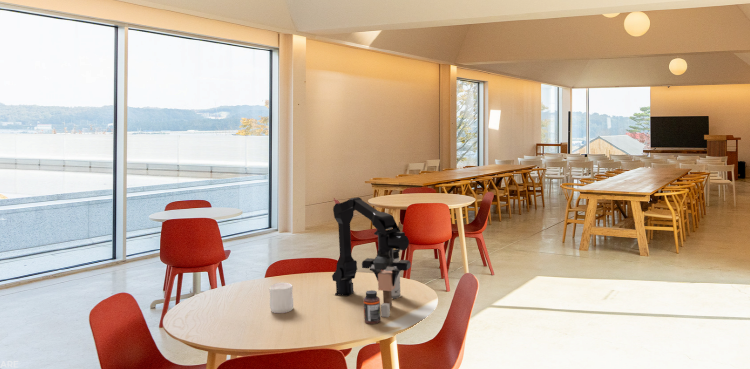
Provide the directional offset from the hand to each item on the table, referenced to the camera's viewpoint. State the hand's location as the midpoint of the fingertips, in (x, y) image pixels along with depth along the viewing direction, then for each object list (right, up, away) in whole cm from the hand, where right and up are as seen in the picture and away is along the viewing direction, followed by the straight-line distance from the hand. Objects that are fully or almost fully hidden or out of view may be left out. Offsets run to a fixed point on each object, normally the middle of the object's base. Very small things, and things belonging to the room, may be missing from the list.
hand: (386, 285), depth 229 cm
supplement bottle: (-6, -11, -16) cm, 20 cm away
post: (0, -8, +1) cm, 9 cm away
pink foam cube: (0, -1, 0) cm, 1 cm away
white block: (-1, -10, -11) cm, 14 cm away
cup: (-42, -10, +2) cm, 43 cm away
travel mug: (+3, -7, +14) cm, 16 cm away
